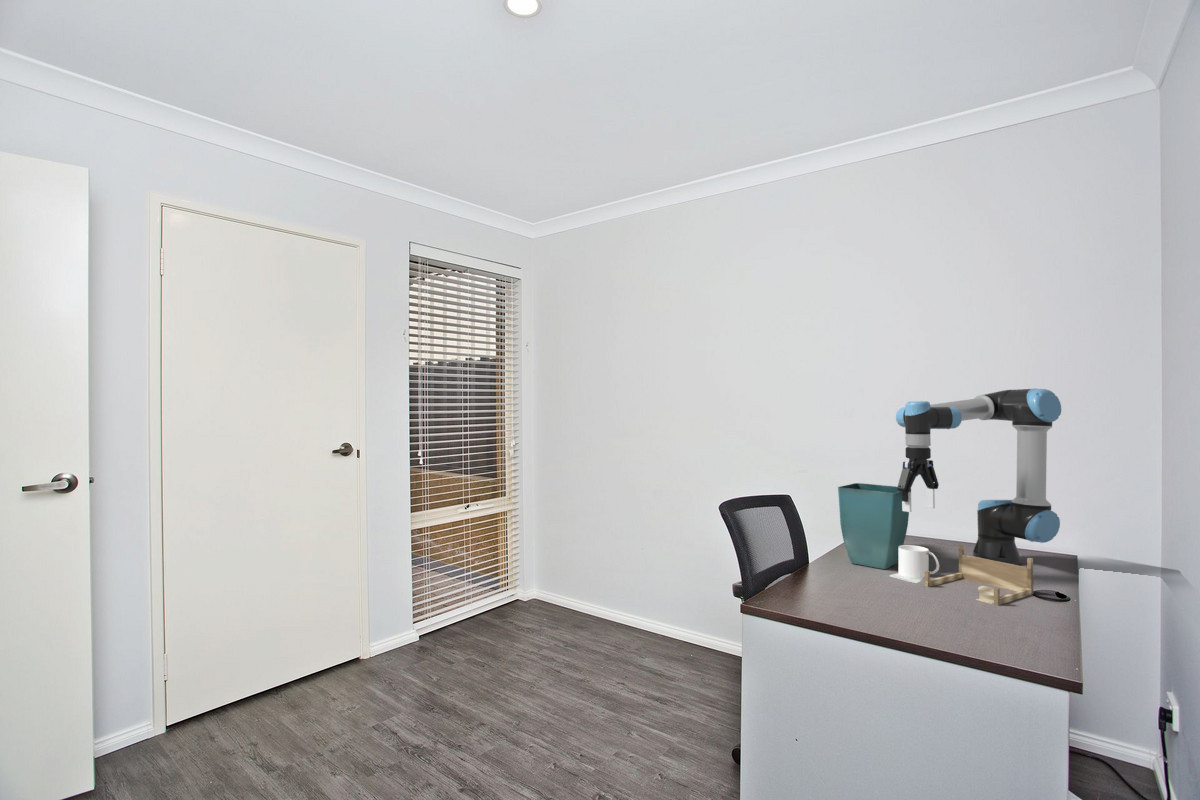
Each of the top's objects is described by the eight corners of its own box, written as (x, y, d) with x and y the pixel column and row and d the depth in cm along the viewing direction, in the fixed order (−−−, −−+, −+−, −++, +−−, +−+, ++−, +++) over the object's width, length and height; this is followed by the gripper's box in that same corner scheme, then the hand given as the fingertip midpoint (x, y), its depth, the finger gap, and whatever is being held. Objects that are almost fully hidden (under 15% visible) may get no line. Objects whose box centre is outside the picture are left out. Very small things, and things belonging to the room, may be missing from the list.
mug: (895, 576, 199) (895, 548, 199) (901, 570, 206) (901, 543, 206) (936, 582, 192) (936, 554, 192) (940, 576, 199) (940, 549, 199)
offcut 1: (978, 592, 173) (978, 587, 173) (982, 590, 174) (982, 585, 174) (993, 595, 169) (993, 590, 169) (997, 594, 171) (997, 589, 171)
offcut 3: (985, 603, 175) (985, 596, 175) (1001, 608, 171) (1001, 601, 171) (975, 606, 173) (975, 599, 173) (991, 610, 169) (991, 603, 169)
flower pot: (912, 563, 218) (912, 487, 219) (895, 574, 204) (895, 492, 204) (856, 554, 232) (856, 482, 232) (837, 564, 217) (837, 487, 218)
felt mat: (910, 571, 207) (910, 570, 207) (945, 580, 197) (945, 578, 197) (889, 576, 201) (889, 574, 201) (924, 585, 191) (924, 583, 191)
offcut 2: (980, 597, 175) (980, 590, 175) (997, 599, 172) (997, 592, 172) (979, 600, 172) (979, 593, 172) (995, 603, 169) (995, 596, 169)
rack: (961, 581, 196) (960, 544, 196) (1033, 598, 178) (1033, 558, 178) (924, 590, 185) (924, 552, 186) (997, 610, 167) (997, 567, 168)
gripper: (927, 444, 209) (928, 504, 209) (885, 447, 196) (885, 511, 196) (949, 446, 203) (950, 507, 203) (906, 448, 190) (907, 514, 190)
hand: (918, 509), depth 199 cm, fingers open, 13 cm apart
